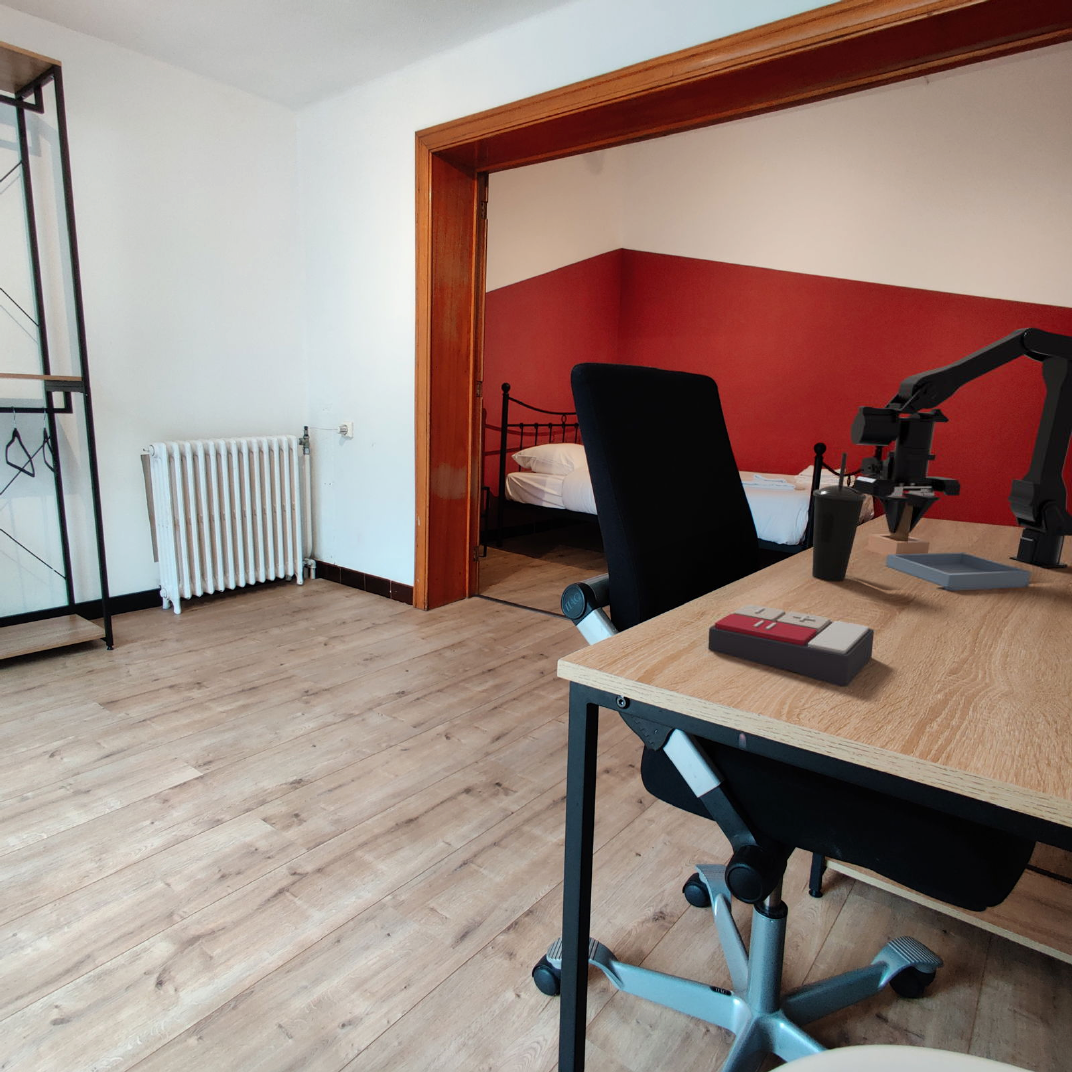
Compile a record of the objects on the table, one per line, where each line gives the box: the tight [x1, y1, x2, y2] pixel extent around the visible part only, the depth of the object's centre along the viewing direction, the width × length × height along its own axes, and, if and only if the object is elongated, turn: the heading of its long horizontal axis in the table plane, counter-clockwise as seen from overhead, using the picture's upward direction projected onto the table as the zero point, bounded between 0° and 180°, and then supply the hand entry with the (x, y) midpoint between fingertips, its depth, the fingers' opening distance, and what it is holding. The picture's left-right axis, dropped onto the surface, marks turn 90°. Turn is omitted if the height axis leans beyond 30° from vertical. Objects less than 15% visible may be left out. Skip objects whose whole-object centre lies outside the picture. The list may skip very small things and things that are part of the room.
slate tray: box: [885, 551, 1032, 592], centre depth 116 cm, size 16×13×2 cm
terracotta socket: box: [866, 533, 930, 558], centre depth 129 cm, size 7×7×4 cm
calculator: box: [707, 603, 875, 688], centre depth 79 cm, size 11×4×15 cm
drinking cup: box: [811, 452, 867, 582], centre depth 111 cm, size 8×8×20 cm
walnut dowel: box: [889, 504, 913, 541], centre depth 128 cm, size 3×3×9 cm
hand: (899, 532), depth 128 cm, fingers closed on walnut dowel, 3 cm apart
